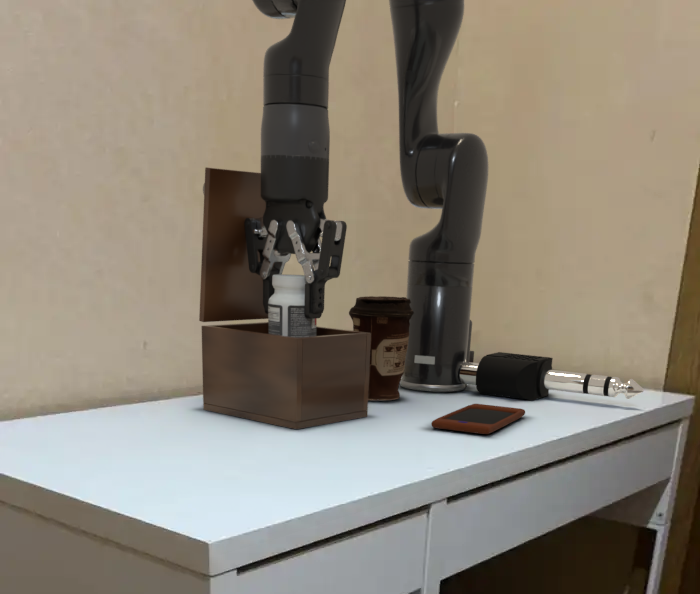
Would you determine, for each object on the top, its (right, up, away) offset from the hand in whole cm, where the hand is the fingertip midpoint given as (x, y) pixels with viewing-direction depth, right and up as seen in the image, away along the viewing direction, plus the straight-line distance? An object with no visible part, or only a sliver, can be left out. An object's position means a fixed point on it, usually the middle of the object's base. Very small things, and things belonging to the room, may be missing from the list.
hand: (292, 315), depth 109 cm
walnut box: (-1, -10, +5) cm, 11 cm away
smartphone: (+22, -12, +4) cm, 26 cm away
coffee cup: (+10, -6, +18) cm, 21 cm away
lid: (-5, +9, +2) cm, 10 cm away
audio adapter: (+35, -4, +23) cm, 42 cm away
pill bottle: (0, -5, +2) cm, 6 cm away
